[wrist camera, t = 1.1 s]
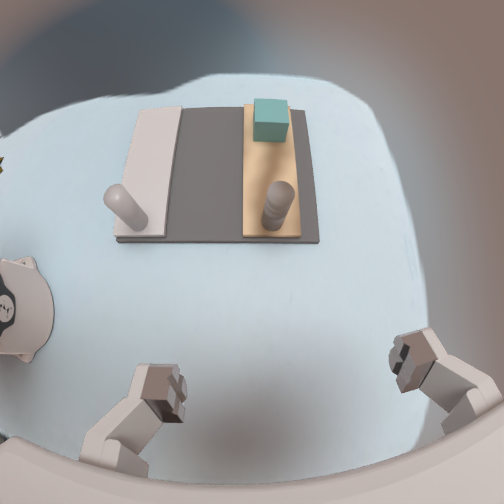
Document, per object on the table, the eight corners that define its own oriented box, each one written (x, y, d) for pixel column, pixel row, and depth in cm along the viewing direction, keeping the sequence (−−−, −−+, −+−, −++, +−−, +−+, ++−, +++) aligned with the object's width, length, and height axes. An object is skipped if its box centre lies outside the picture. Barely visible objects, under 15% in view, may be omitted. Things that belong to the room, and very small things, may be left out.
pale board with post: (115, 237, 38) (83, 213, 28) (141, 113, 43) (126, 76, 34) (165, 236, 38) (143, 210, 28) (182, 109, 44) (173, 69, 34)
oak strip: (242, 236, 38) (244, 209, 29) (244, 107, 44) (245, 66, 34) (299, 237, 39) (318, 210, 29) (288, 109, 44) (298, 69, 35)
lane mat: (118, 242, 39) (116, 240, 38) (143, 115, 45) (142, 112, 44) (317, 243, 40) (319, 241, 39) (303, 113, 46) (304, 110, 45)
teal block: (253, 141, 41) (254, 121, 36) (252, 118, 42) (254, 98, 38) (284, 142, 41) (289, 123, 37) (282, 119, 43) (286, 100, 38)
